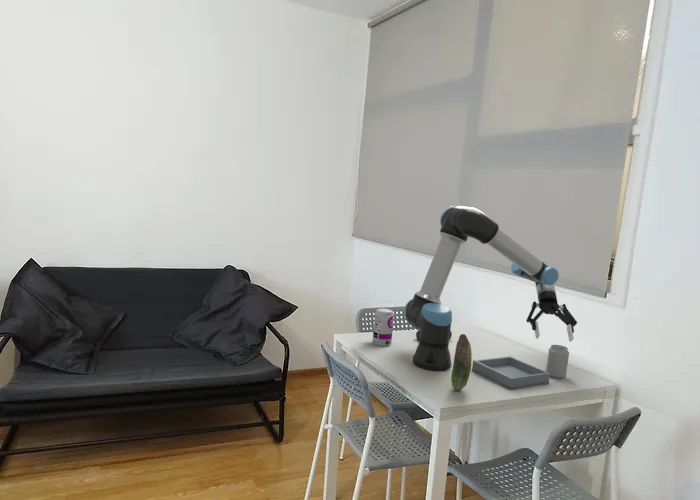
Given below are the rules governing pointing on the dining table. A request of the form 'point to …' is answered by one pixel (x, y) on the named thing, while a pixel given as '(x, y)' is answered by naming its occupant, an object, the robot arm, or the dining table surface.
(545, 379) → the box
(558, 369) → the can
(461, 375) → the vegetable
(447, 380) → the dining table surface
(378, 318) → the supplement can
